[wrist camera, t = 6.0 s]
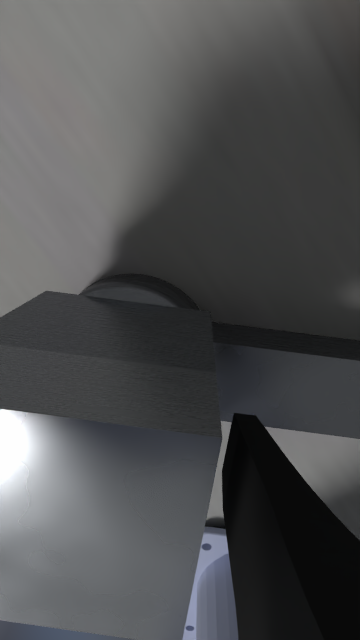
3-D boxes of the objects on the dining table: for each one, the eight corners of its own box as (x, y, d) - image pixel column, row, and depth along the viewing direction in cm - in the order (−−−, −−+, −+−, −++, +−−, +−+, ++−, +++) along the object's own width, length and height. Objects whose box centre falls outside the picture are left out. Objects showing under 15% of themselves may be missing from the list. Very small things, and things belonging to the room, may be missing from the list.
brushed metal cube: (189, 444, 12) (181, 646, 7) (50, 425, 13) (-72, 609, 7) (210, 311, 11) (222, 438, 5) (46, 290, 11) (-127, 392, 5)
